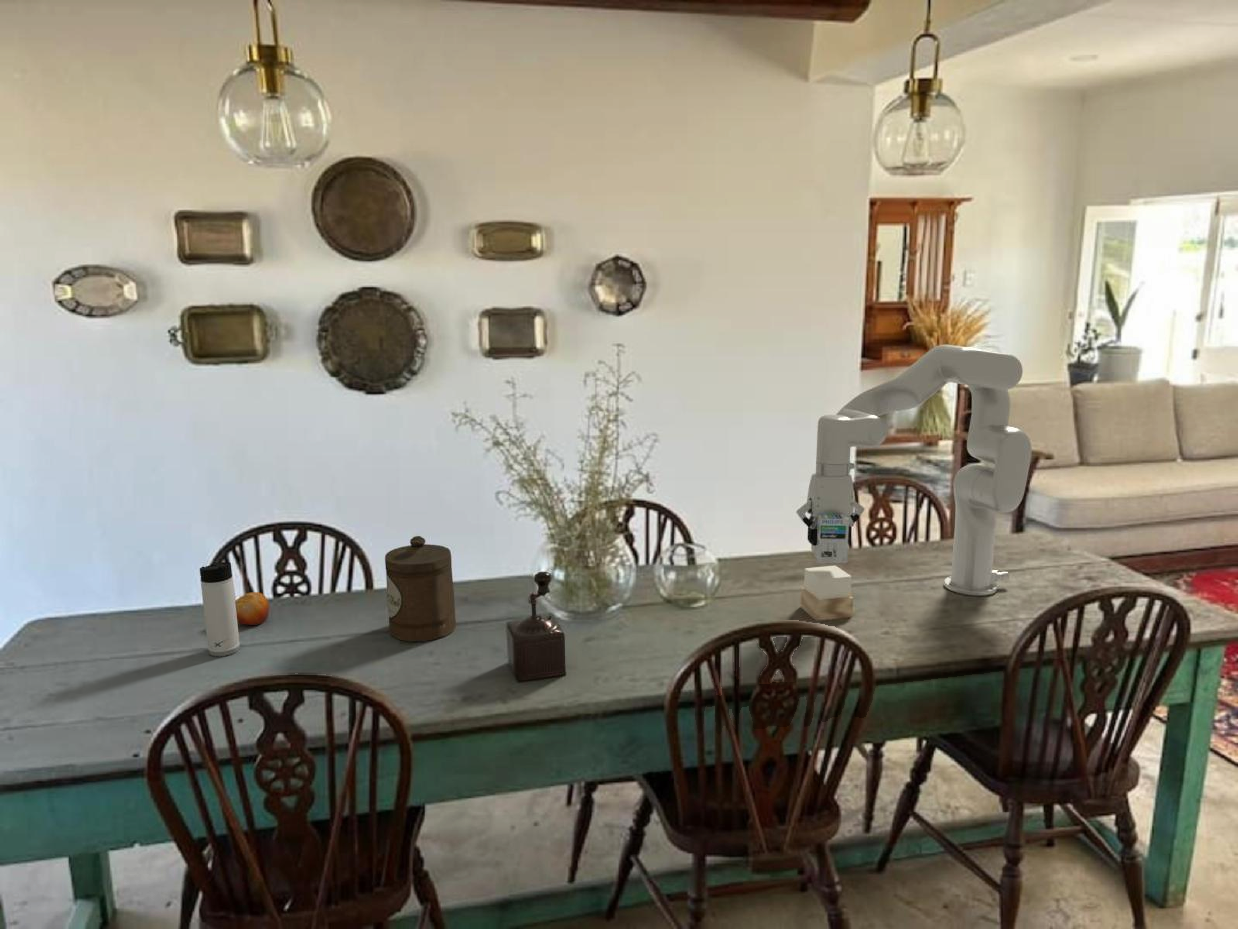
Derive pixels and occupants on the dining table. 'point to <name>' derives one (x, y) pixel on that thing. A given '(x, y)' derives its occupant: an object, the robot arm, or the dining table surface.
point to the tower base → (826, 606)
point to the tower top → (827, 582)
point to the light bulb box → (832, 539)
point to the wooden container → (420, 591)
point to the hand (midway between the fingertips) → (829, 542)
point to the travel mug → (219, 609)
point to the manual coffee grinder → (536, 641)
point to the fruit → (252, 608)
